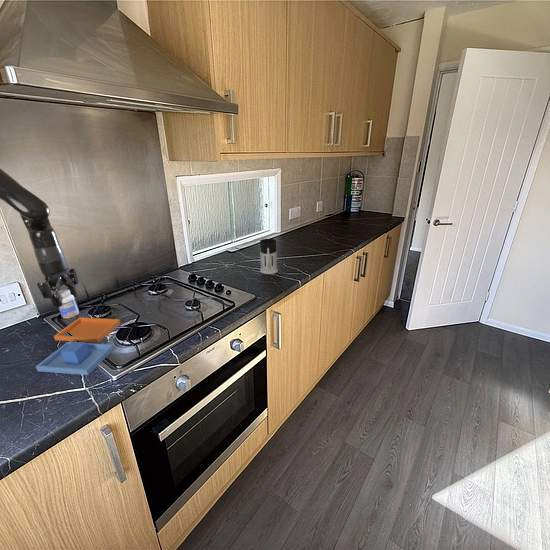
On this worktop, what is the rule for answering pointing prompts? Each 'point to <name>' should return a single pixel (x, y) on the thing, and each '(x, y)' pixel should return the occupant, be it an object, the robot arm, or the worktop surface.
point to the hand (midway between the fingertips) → (66, 301)
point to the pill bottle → (67, 304)
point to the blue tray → (85, 368)
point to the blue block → (75, 353)
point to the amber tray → (88, 330)
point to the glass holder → (268, 256)
